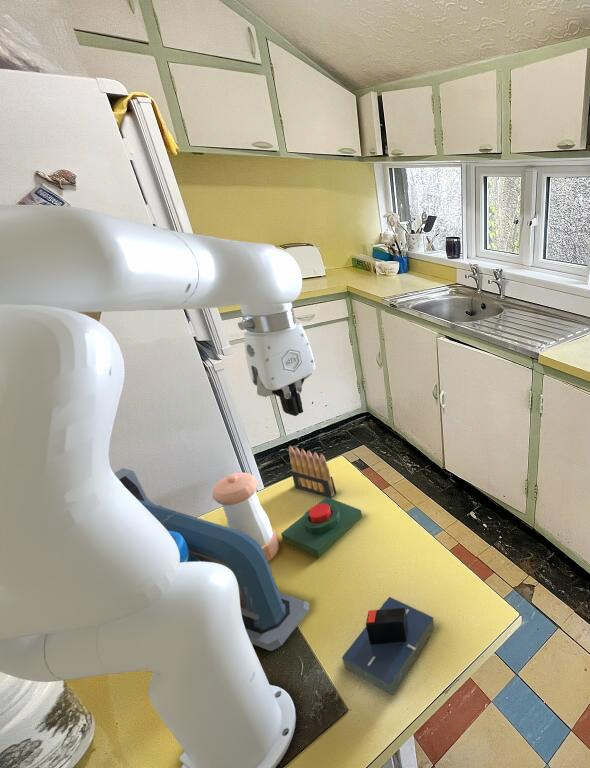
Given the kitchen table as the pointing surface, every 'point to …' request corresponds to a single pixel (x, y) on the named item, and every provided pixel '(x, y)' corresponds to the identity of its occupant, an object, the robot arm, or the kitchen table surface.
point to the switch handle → (387, 626)
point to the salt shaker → (246, 510)
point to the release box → (322, 528)
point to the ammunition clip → (311, 473)
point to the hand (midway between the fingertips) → (294, 412)
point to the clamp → (232, 568)
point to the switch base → (389, 651)
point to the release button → (320, 513)
